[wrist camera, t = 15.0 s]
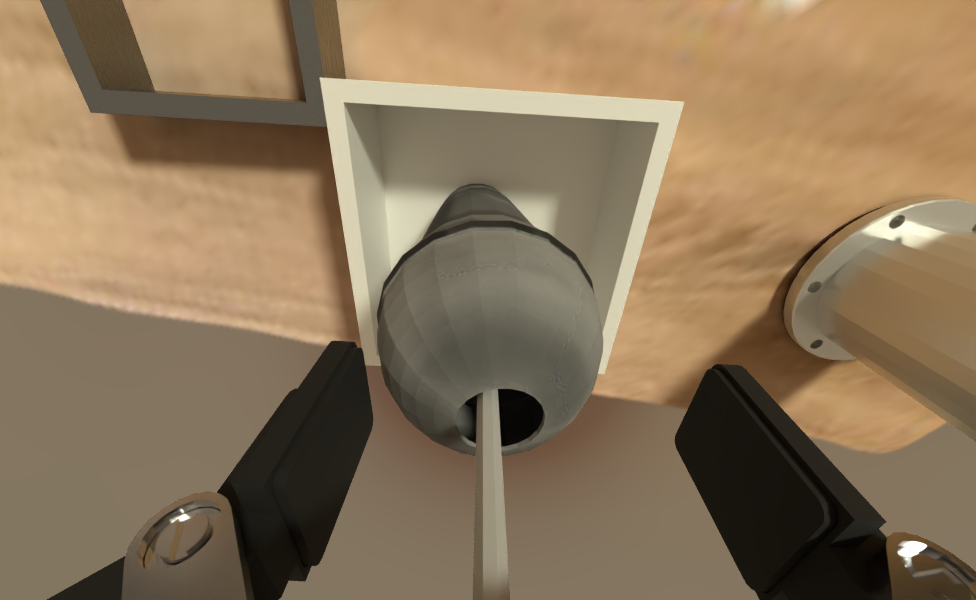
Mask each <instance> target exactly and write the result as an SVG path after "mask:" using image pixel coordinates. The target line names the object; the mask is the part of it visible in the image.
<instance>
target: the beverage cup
mask: <svg viewBox="0 0 976 600" xmlns="http://www.w3.org/2000/svg"><path fill="white" fill-rule="evenodd" d="M377 321H378V329H377V346H378V352H379V357H380V363H381V369H382V374H383V377H384V381H385V384H386V386H387V388H388V390H389V391H390V393H391V395H392V396H393V398H394V400H395V401H396V403H397V404H398V406H399V407H400V409H401V411H402V412H403V414H404V416H405V417H406V418H407V419H408V420H409V421H410V422H411V423H412V424H413V425H414V426H415V427H416V428H418V429H419V430H420V431H421V432H423V433H424V434H425V435H426V436H428V437H429V438H430V439H431V440H433V441H435V442H437V443H439V444H441V445H443V446H446V447H448V448H450V449H453V450H455V451H457V452H460V453H463V454H469V455H475V456H476V475H475V524H474V525H475V526H474V572H473V600H510V592H509V575H508V558H507V540H506V524H505V506H504V488H503V471H502V456H509V455H513V454H517V453H521V452H525V451H529V450H531V449H533V448H535V447H537V446H539V445H541V444H543V443H545V442H547V441H549V440H550V439H552V438H553V437H554V436H555V435H556V434H557V433H559V432H560V431H561V430H562V429H564V428H565V427H566V426H567V425H568V424H569V423H571V422H572V421H573V420H574V419H575V417H576V416H577V414H578V413H579V411H580V410H581V408H582V407H583V405H584V403H585V402H586V400H587V399H588V397H589V396H590V394H591V392H592V391H593V389H594V386H595V382H596V379H597V375H598V371H599V366H600V362H601V358H602V354H603V333H602V327H601V321H600V315H599V309H598V305H597V300H596V297H595V295H594V289H593V283H592V280H591V278H590V276H589V275H588V273H587V272H586V270H585V268H584V267H583V265H582V263H581V262H580V260H579V258H578V257H577V255H576V254H575V253H574V252H573V251H572V250H570V249H569V248H568V247H566V246H565V245H564V244H562V243H561V242H560V241H558V240H557V239H556V238H555V237H553V236H552V235H551V234H549V233H548V232H545V231H542V230H540V229H538V228H536V227H534V226H533V225H532V224H531V223H530V222H529V221H528V219H527V218H526V217H525V216H524V215H523V214H522V213H521V212H520V211H519V210H518V209H517V207H516V206H515V205H514V204H513V203H512V202H511V201H510V200H509V199H508V198H507V197H505V196H504V195H503V194H502V193H500V192H499V191H498V190H496V189H495V188H493V187H491V186H488V185H485V184H468V185H465V186H462V187H459V188H458V189H456V190H455V191H454V192H452V193H451V194H450V195H449V196H448V198H447V199H446V200H445V201H444V203H443V204H442V206H441V207H440V208H439V210H438V212H437V214H436V215H435V217H434V219H433V221H432V223H431V224H430V226H429V228H428V230H427V232H426V233H425V235H424V237H423V239H422V240H421V241H420V242H419V243H418V244H416V245H415V246H414V247H413V248H411V249H410V250H409V251H407V252H406V253H405V254H403V255H402V257H401V258H400V260H399V261H398V263H397V264H396V265H395V267H394V268H393V270H392V271H391V273H390V274H389V276H388V277H387V279H386V280H385V282H384V283H383V288H382V292H381V297H380V301H379V306H378V310H377Z"/></svg>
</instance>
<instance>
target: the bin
mask: <svg viewBox="0 0 976 600" xmlns="http://www.w3.org/2000/svg"><path fill="white" fill-rule="evenodd" d="M320 83H321V90H322V96H323V102H324V109H325V115H326V122H327V128H328V134H329V141H330V147H331V154H332V160H333V167H334V173H335V179H336V186H337V192H338V199H339V205H340V212H341V218H342V224H343V231H344V237H345V244H346V250H347V256H348V263H349V269H350V276H351V282H352V289H353V295H354V301H355V308H356V314H357V321H358V327H359V334H360V340H361V346H362V350H363V354H364V360H365V365H368V366H381V363H380V357H379V352H378V346H377V329H378V321H377V310H378V306H379V301H380V297H381V292H382V288H383V283H384V282H385V280H386V279H387V277H388V276H389V274H390V273H391V271H392V270H393V268H394V267H395V265H396V264H397V263H398V261H399V260H400V258H401V257H402V255H403V254H405V253H406V252H407V251H409V250H410V249H411V248H413V247H414V246H415V245H416V244H418V243H419V242H420V241H421V240H422V239H423V237H424V235H425V233H426V232H427V230H428V228H429V226H430V224H431V223H432V221H433V219H434V217H435V215H436V214H437V212H438V210H439V208H440V207H441V206H442V204H443V203H444V201H445V200H446V199H447V198H448V196H449V195H450V194H451V193H452V192H454V191H455V190H456V189H458V188H459V187H462V186H465V185H468V184H485V185H488V186H491V187H493V188H495V189H496V190H498V191H499V192H500V193H502V194H503V195H504V196H505V197H507V198H508V199H509V200H510V201H511V202H512V203H513V204H514V205H515V206H516V207H517V209H518V210H519V211H520V212H521V213H522V214H523V215H524V216H525V217H526V218H527V219H528V221H529V222H530V223H531V224H532V225H533V226H534V227H536V228H538V229H540V230H542V231H545V232H548V233H549V234H551V235H552V236H553V237H555V238H556V239H557V240H558V241H560V242H561V243H562V244H564V245H565V246H566V247H568V248H569V249H570V250H572V251H573V252H574V253H575V254H576V255H577V257H578V258H579V260H580V262H581V263H582V265H583V267H584V268H585V270H586V272H587V273H588V275H589V276H590V278H591V280H592V283H593V289H594V295H595V297H596V300H597V305H598V309H599V315H600V321H601V327H602V333H603V354H602V358H601V362H600V366H599V371H598V374H605V370H606V367H607V363H608V360H609V357H610V353H611V350H612V346H613V343H614V340H615V336H616V333H617V329H618V326H619V323H620V319H621V316H622V312H623V309H624V306H625V302H626V299H627V295H628V292H629V289H630V285H631V282H632V278H633V275H634V272H635V268H636V265H637V261H638V258H639V255H640V251H641V248H642V244H643V241H644V238H645V234H646V231H647V228H648V224H649V221H650V217H651V214H652V211H653V207H654V204H655V200H656V197H657V194H658V190H659V187H660V183H661V180H662V177H663V173H664V170H665V166H666V163H667V160H668V156H669V153H670V149H671V146H672V143H673V139H674V136H675V132H676V129H677V126H678V122H679V119H680V115H681V112H682V109H683V105H684V102H680V101H665V100H650V99H635V98H620V97H605V96H590V95H575V94H560V93H545V92H530V91H515V90H500V89H485V88H470V87H455V86H440V85H425V84H410V83H396V82H381V81H366V80H351V79H336V78H321V77H320Z"/></svg>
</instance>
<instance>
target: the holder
mask: <svg viewBox="0 0 976 600" xmlns="http://www.w3.org/2000/svg"><path fill="white" fill-rule="evenodd" d="M40 1H41V3H42V6H43V8H44V10H45V12H46V14H47V17H48V19H49V21H50V23H51V26H52V28H53V30H54V32H55V34H56V37H57V39H58V41H59V43H60V45H61V48H62V50H63V52H64V54H65V57H66V59H67V61H68V63H69V65H70V68H71V70H72V72H73V74H74V76H75V79H76V81H77V83H78V85H79V88H80V90H81V92H82V94H83V96H84V99H85V101H86V103H87V105H88V107H89V110H90V112H91V113H107V114H123V115H140V116H156V117H172V118H188V119H204V120H221V121H237V122H253V123H269V124H286V125H302V126H318V127H327V122H326V115H325V109H324V102H323V96H322V90H321V83H320V77H321V78H336V79H346V76H345V68H344V60H343V52H342V44H341V36H340V28H339V20H338V12H337V4H336V0H289V6H290V12H291V17H292V23H293V29H294V34H295V40H296V46H297V51H298V57H299V63H300V68H301V74H302V80H303V85H304V91H305V97H306V101H304V100H288V99H272V98H257V97H241V96H226V95H210V94H195V93H179V92H164V91H154V88H153V85H152V82H151V80H150V77H149V74H148V71H147V68H146V66H145V63H144V60H143V57H142V55H141V52H140V49H139V46H138V44H137V41H136V38H135V35H134V33H133V30H132V27H131V24H130V21H129V19H128V16H127V13H126V10H125V8H124V5H123V2H122V0H40Z"/></svg>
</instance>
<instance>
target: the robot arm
mask: <svg viewBox="0 0 976 600" xmlns="http://www.w3.org/2000/svg"><path fill="white" fill-rule="evenodd" d="M783 313H784V324H785V327H786V329H787V331H788V334H789V335H790V336H791V338H792V339H793V340H794V341H795V342H796V343H797V344H798V345H800V346H801V347H802V348H803V349H805V350H806V351H807V352H809V353H811V354H814V355H816V356H818V357H821V358H826V359H830V360H855V359H858V360H859V361H860V362H862V363H863V364H865V365H866V366H868V367H869V368H871V369H872V370H873V371H875V372H876V373H878V374H879V375H881V376H882V377H883V378H885V379H886V380H888V381H889V382H891V383H892V384H893V385H895V386H896V387H898V388H899V389H901V390H902V391H904V392H905V393H906V394H908V395H909V396H911V397H912V398H914V399H915V400H916V401H918V402H919V403H921V404H922V405H924V406H925V407H926V408H928V409H929V410H931V411H932V412H934V413H935V414H937V415H938V416H939V417H941V418H942V419H944V420H945V421H947V422H948V423H949V424H951V425H953V426H954V427H955V428H957V429H958V430H959V431H961V432H962V433H964V434H965V435H967V436H968V437H969V438H971V439H973V440H974V441H975V442H976V204H975V203H973V202H970V201H965V200H960V199H956V198H951V197H942V196H925V197H918V198H910V199H907V200H903V201H900V202H896V203H893V204H889V205H887V206H884V207H882V208H880V209H878V210H875V211H873V212H871V213H868V214H866V215H865V216H863V217H861V218H859V219H858V220H856V221H854V222H853V223H851V224H849V225H847V226H846V227H845V228H843V229H842V230H841V231H839V232H838V233H837V234H835V235H834V236H833V237H831V238H830V239H829V240H827V241H826V242H825V243H824V244H823V245H822V246H821V247H820V248H819V249H818V250H817V251H816V252H815V253H814V254H813V255H812V256H811V257H810V258H809V260H808V261H807V262H806V263H805V264H804V266H803V267H802V268H801V269H800V271H799V273H798V274H797V276H796V278H795V279H794V281H793V283H792V284H791V287H790V289H789V292H788V294H787V297H786V300H785V306H784V312H783ZM372 426H373V413H372V406H371V400H370V393H369V386H368V380H367V373H366V367H365V360H364V354H363V350H362V348H357V346H356V344H355V342H346V341H331V342H330V343H329V345H328V346H327V347H326V349H325V350H324V352H323V353H322V355H321V356H320V358H319V359H318V361H317V362H316V363H315V365H314V366H313V368H312V369H311V370H310V372H309V373H308V375H307V376H306V378H305V379H304V380H303V382H302V383H301V385H300V386H299V388H298V389H294V390H292V391H290V392H289V394H288V395H287V396H286V397H285V399H284V400H283V401H282V403H281V404H280V406H279V407H278V408H277V410H276V411H275V412H274V414H273V415H272V417H271V418H270V419H269V421H268V422H267V424H266V425H265V426H264V428H263V429H262V431H261V432H260V433H259V435H258V436H257V438H256V439H255V440H254V442H253V443H252V444H251V446H250V447H249V449H248V450H247V451H246V453H245V454H244V456H243V457H242V458H241V460H240V461H239V463H238V464H237V465H236V467H235V468H234V469H233V471H232V472H231V474H230V475H229V476H228V478H227V479H226V480H225V482H224V483H223V485H222V486H221V488H220V489H219V490H218V492H217V493H214V492H202V493H195V494H192V495H190V496H187V497H184V498H181V499H179V500H177V501H175V502H174V503H172V504H170V505H168V506H167V507H165V508H163V509H162V510H161V511H160V512H158V513H157V514H156V515H154V516H153V517H152V518H151V519H149V520H148V521H147V523H146V524H145V525H144V526H143V527H142V528H141V529H140V530H139V531H138V532H137V534H136V535H135V537H134V539H133V540H132V542H131V543H130V545H129V547H128V549H127V553H126V556H124V557H123V558H121V559H119V560H117V561H116V562H114V563H112V564H110V565H108V566H107V567H105V568H103V569H101V570H99V571H97V572H96V573H94V574H92V575H90V576H89V577H87V578H85V579H83V580H81V581H79V582H78V583H76V584H74V585H72V586H71V587H69V588H67V589H65V590H63V591H62V592H60V593H58V594H56V595H54V596H52V597H51V598H49V599H47V600H278V599H280V598H281V597H282V594H283V592H284V590H285V587H286V585H287V583H288V581H289V580H290V581H306V578H307V576H308V573H309V571H310V568H311V566H316V565H318V564H319V563H320V561H321V559H322V557H323V554H324V552H325V549H326V546H327V544H328V541H329V539H330V536H331V534H332V531H333V529H334V526H335V523H336V520H337V518H338V516H339V513H340V510H341V508H342V505H343V503H344V500H345V497H346V495H347V492H348V490H349V487H350V484H351V482H352V479H353V477H354V474H355V471H356V469H357V466H358V464H359V461H360V459H361V456H362V453H363V451H364V448H365V445H366V443H367V440H368V438H369V435H370V432H371V430H372ZM675 445H676V448H677V450H678V452H679V454H680V456H681V458H682V460H683V462H684V464H685V466H686V468H687V470H688V472H689V474H690V475H691V477H692V480H693V481H694V483H695V485H696V487H697V489H698V491H699V493H700V495H701V497H702V499H703V501H704V503H705V505H706V507H707V509H708V511H709V512H710V514H711V516H712V518H713V520H714V522H715V524H716V526H717V528H718V530H719V532H720V534H721V536H722V538H723V539H724V542H725V544H726V546H727V548H728V549H729V551H730V553H731V555H732V557H733V559H734V561H735V563H736V565H737V567H738V569H739V571H740V572H741V575H742V577H743V578H744V580H745V582H746V584H747V585H748V586H749V587H750V588H751V589H753V590H755V592H756V593H757V596H758V597H759V599H760V600H976V571H975V570H973V569H972V568H971V567H970V566H969V565H967V564H966V563H965V562H963V561H962V560H960V559H959V558H958V557H956V556H955V555H954V554H953V553H951V552H949V551H948V550H946V549H944V548H943V547H941V546H939V545H937V544H936V543H934V542H932V541H929V540H927V539H925V538H922V537H920V536H918V535H914V534H909V533H905V532H896V533H895V532H894V533H892V534H891V535H889V536H888V537H886V536H885V535H884V534H883V533H882V532H881V531H880V530H879V528H880V527H881V526H882V525H883V524H884V523H886V521H885V520H884V519H883V518H882V517H881V515H880V514H879V513H878V512H877V511H876V510H875V509H874V508H873V507H872V506H871V505H870V504H869V502H868V501H867V500H866V499H865V498H864V497H863V496H862V495H861V494H860V493H859V492H858V491H857V489H856V488H855V487H854V486H853V485H852V484H851V483H850V482H849V481H848V480H847V479H846V478H845V476H844V475H843V474H842V473H841V472H840V471H839V470H838V469H837V468H836V467H835V466H834V465H833V464H832V462H831V461H830V460H829V459H828V458H827V457H826V456H825V455H824V454H823V453H822V452H821V451H820V449H819V448H818V447H817V446H816V445H815V444H814V443H813V442H812V441H811V440H810V439H809V438H808V436H807V435H806V434H805V433H804V432H803V431H802V430H801V429H800V428H799V427H798V426H797V425H796V423H795V422H794V421H793V420H792V419H791V418H790V417H789V416H788V415H787V414H786V413H785V412H784V411H783V409H782V408H781V407H780V406H779V405H778V404H777V403H776V402H775V401H774V400H773V399H772V398H771V396H770V395H769V394H768V393H767V392H766V391H765V390H764V389H763V388H762V387H761V386H760V385H759V383H758V382H757V381H756V380H755V379H754V378H753V377H752V376H751V375H750V374H749V373H748V372H747V370H746V369H744V368H743V367H742V366H739V365H723V364H717V365H714V366H713V367H712V368H711V369H709V370H707V371H706V373H705V375H704V377H703V379H702V381H701V383H700V385H699V387H698V389H697V391H696V393H695V396H694V398H693V400H692V402H691V404H690V406H689V408H688V410H687V412H686V414H685V416H684V419H683V421H682V423H681V425H680V427H679V429H678V431H677V433H676V436H675Z"/></svg>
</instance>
